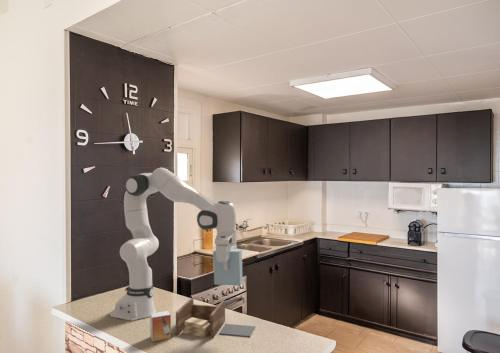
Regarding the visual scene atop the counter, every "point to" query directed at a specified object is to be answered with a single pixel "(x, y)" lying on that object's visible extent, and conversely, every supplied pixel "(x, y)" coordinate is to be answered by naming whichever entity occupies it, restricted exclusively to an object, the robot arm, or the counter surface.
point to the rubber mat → (237, 330)
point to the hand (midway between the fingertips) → (228, 267)
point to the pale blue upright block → (229, 269)
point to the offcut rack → (201, 315)
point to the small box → (160, 326)
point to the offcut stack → (197, 327)
